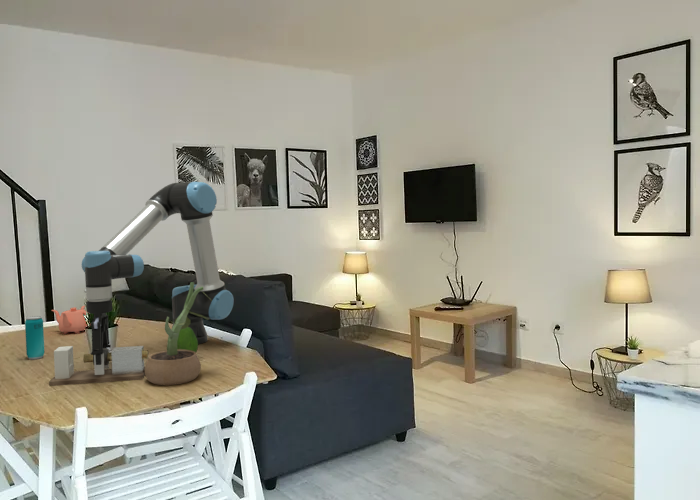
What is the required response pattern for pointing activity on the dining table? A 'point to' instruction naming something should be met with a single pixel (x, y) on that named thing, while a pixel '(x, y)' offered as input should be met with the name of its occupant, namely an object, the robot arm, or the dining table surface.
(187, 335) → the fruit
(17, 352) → the dining table surface
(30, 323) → the beverage can
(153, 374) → the potted plant
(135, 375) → the board
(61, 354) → the socket
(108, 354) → the tube
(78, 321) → the teapot
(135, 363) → the sleeve
